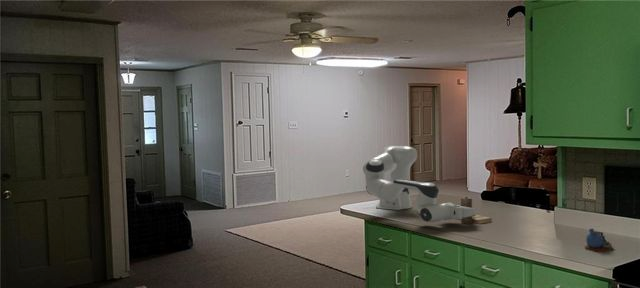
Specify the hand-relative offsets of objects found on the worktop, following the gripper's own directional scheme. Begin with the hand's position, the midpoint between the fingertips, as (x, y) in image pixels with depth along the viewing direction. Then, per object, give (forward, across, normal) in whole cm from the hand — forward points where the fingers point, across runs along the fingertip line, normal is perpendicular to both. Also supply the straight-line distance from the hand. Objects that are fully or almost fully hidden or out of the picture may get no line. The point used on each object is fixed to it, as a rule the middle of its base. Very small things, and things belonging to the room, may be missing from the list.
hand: (467, 207), depth 285 cm
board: (+6, -6, -8) cm, 11 cm away
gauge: (+1, 0, -8) cm, 8 cm away
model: (+5, +71, -8) cm, 72 cm away
